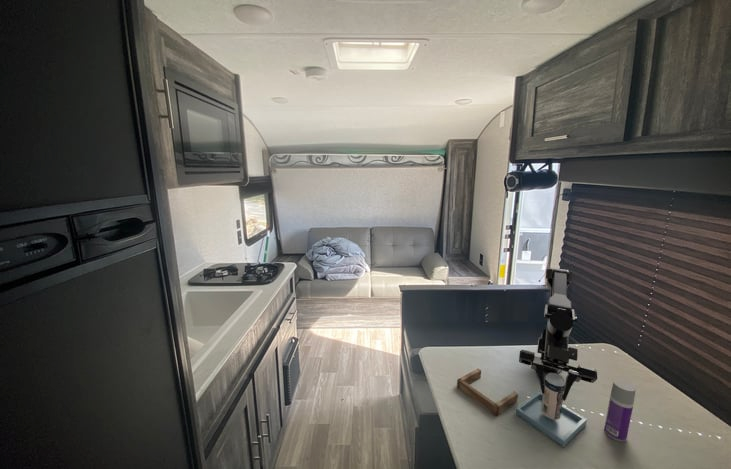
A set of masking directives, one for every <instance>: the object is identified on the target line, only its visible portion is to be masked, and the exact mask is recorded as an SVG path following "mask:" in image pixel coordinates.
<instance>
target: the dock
mask: <svg viewBox="0 0 731 469" xmlns="http://www.w3.org/2000/svg"><path fill="white" fill-rule="evenodd" d="M481 375H482V370H481V369H480V368H476V369H474V370H473V371H471V372H469V373H467V374H465V375H463V376H461V377H460V378H457V381H456V388H457V389H458V390H460V391H461V392H462V393H463V394H465V395H467V396H468V397H469V398H470V399H471V400H473V401H474V402H476V403H477V404H478V405H480V406H481V407H483V408H484V409H485V410H486V411H488V412H489V413H491V414H492V415H493V416H494V417H498V416H499V415H501V414H503V412H506V410H508V409H509V408H511V407H512V406H514V405H515V404H517V403H518V397H519V393H517V392H516V391H515V390H514V391H512V392H511V393H510V394H508V395H507V396H505V397H503V398H502V399H500V400H498V401H497V402H494V401H493V400H492V399H490V398H489V397H488V396H486V395H484V394H483V393H482V392H480V391H479V390H477V389H476V388H475V387H473V386H472V385H471V384H472V383H474V382H475V381H478V380H479V379H481Z"/></svg>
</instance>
